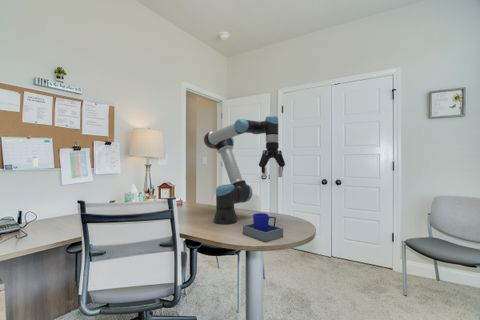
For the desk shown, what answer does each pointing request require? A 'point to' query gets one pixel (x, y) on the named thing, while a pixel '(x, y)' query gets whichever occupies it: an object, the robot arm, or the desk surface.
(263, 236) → the tray
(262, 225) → the mug
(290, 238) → the desk surface
